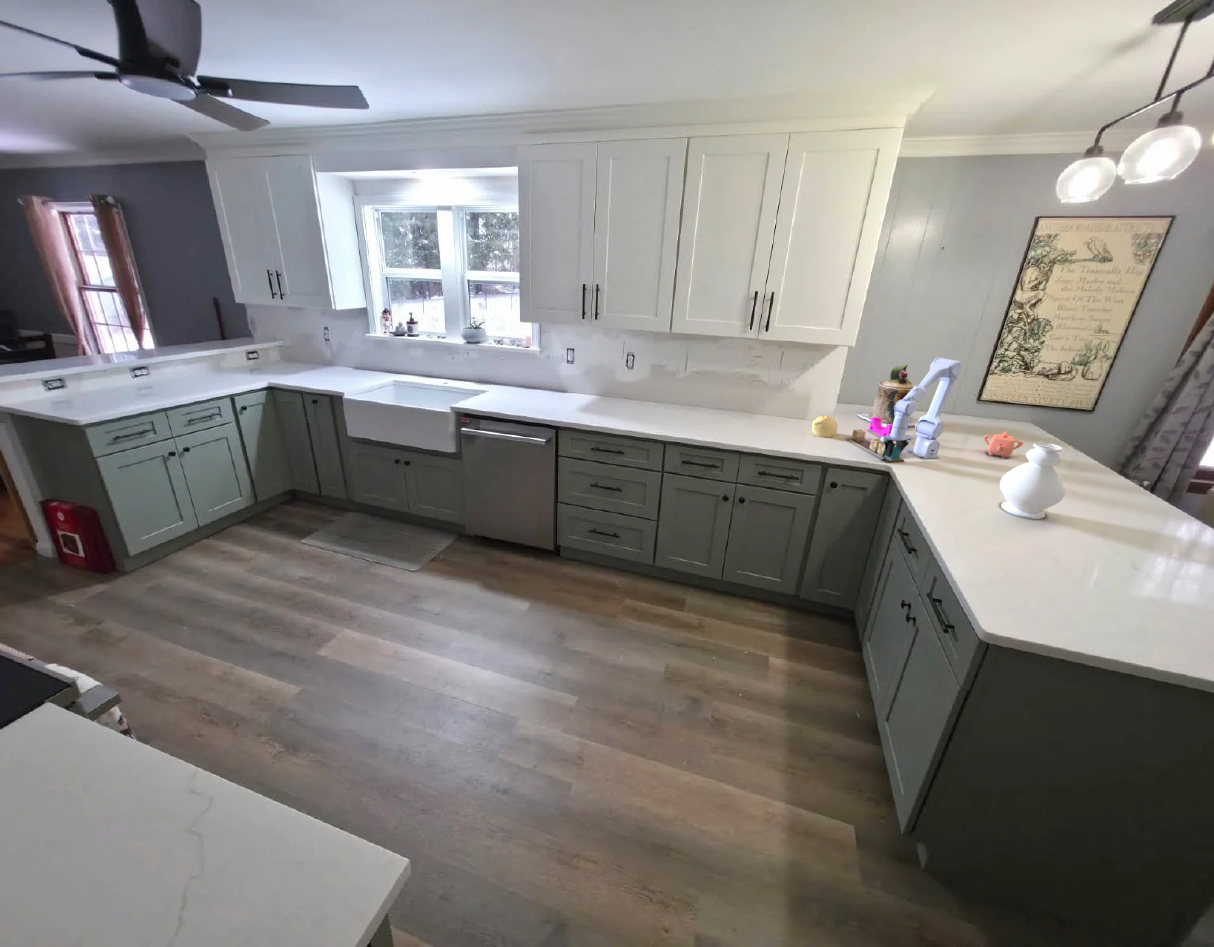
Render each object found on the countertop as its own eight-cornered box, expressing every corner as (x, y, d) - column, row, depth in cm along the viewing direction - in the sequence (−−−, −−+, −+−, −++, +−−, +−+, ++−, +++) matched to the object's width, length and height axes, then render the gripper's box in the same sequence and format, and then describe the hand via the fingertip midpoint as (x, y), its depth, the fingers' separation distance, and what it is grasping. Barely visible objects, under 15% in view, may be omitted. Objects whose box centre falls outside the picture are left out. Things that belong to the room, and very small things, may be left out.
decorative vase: (1044, 527, 168) (1073, 459, 158) (984, 507, 181) (1007, 443, 171) (1061, 513, 177) (1089, 448, 167) (1002, 495, 191) (1025, 434, 181)
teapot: (1022, 460, 225) (1030, 439, 221) (996, 460, 225) (1003, 439, 221) (999, 449, 238) (1006, 429, 234) (974, 449, 238) (981, 429, 234)
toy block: (898, 440, 249) (901, 425, 246) (886, 440, 248) (890, 426, 245) (879, 430, 262) (883, 417, 259) (868, 430, 262) (871, 417, 259)
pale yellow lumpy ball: (812, 431, 260) (816, 411, 256) (836, 435, 255) (841, 414, 250) (808, 437, 251) (812, 416, 247) (833, 441, 246) (837, 420, 241)
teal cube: (898, 459, 222) (901, 449, 220) (890, 459, 221) (893, 450, 219) (892, 455, 225) (895, 446, 224) (884, 456, 225) (887, 446, 223)
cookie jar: (855, 416, 285) (867, 360, 273) (889, 413, 292) (902, 358, 279) (889, 429, 264) (904, 369, 251) (925, 426, 271) (941, 367, 258)
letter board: (903, 461, 222) (907, 450, 219) (887, 462, 220) (890, 451, 218) (860, 438, 250) (863, 428, 247) (846, 439, 248) (848, 429, 246)
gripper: (908, 423, 222) (900, 451, 228) (878, 424, 220) (872, 453, 225) (919, 428, 216) (911, 457, 221) (889, 429, 214) (882, 459, 219)
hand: (892, 455), depth 223 cm, fingers closed on teal cube, 4 cm apart
